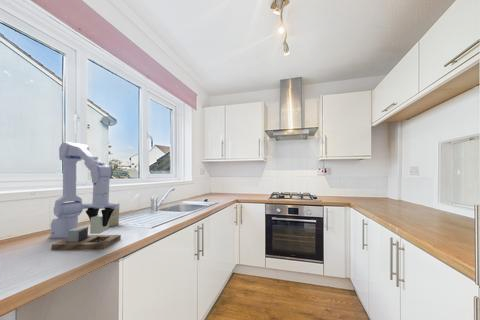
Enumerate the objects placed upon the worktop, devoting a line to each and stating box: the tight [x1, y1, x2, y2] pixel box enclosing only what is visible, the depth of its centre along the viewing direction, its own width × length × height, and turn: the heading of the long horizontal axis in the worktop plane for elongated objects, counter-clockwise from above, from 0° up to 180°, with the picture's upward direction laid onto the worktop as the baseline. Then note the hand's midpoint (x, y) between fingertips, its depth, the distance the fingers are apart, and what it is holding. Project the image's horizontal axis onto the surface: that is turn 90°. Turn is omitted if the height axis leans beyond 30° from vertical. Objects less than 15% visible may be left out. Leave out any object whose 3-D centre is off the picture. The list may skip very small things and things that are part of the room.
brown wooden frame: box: [51, 234, 122, 251], centre depth 86 cm, size 20×12×2 cm, turn 92°
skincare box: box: [108, 202, 120, 228], centre depth 116 cm, size 6×4×12 cm
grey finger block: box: [68, 226, 89, 243], centre depth 86 cm, size 4×6×6 cm, turn 2°
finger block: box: [89, 213, 109, 235], centre depth 86 cm, size 4×6×6 cm, turn 2°
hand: (99, 225), depth 87 cm, fingers closed on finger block, 4 cm apart
